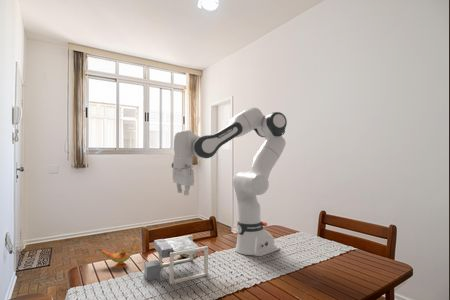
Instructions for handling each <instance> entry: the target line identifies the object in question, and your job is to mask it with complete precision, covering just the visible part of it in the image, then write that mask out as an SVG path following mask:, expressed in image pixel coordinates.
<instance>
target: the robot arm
mask: <svg viewBox="0 0 450 300" xmlns="http://www.w3.org/2000/svg"><path fill="white" fill-rule="evenodd" d="M287 124H288V121H287V117H286V116H285V114H284V113H282V112H280V111H275V112H271V113H269V114H267V115H265V114H263V113H262V111H261V109H259V108H258V107H250V108H247V109H245V110H243V111H241V112H239V113H237V114H235V115H234V116H233V117H232V118H230V119H229V120H228V121H227V126H226V127H224V128H222V129H221V130H219V131H217V132H215V133H214V134H209V135H201V136H199V135H197V134H195V133H193V132H192V130H190V129H184V130H180V131H178V132H175V135H174V138H173V151H174V156H173V162H171V168H172V180H173V183H174V184H176V188H177V193H179V194H182V193H183V195H184V196H189V195H190V193H189V192H190V188H191V186H192V187H193V186H194V185H195V184H194V183H195V175H194V174H195V173H194V172H195V171H194V169H193V157H197V158H202V159H210V158H212V157H214V156H215V155H216V154H217V152H218V150H219V149H220V148H221V147H222V146H223V145H225V144H227V143H228V142H229V141H232V140H233V139H235V138H239V137H242V136H245V135H247V134H249V133H250V132H252V131H254V132H255V133H256V135H257V136H259V137H261V138H264V141H263V143H262V144H261V145H260V147H259V149H258V150H257V152H256V153H255V155H254V156H252V164H251V167H250V169H249V170H248V171H244V170H243V171H239V172H237V173H235V174H234V175H233V177H232V181H231V183H232V186H233V188H234V192H235V196H236V197H235V198H236V201H237V218H238V219H237V220H238V221H237V226H236V227H237V237H236V238H237V239H236V245H235V248H234V250H235V252H237V253H239V254H241V255H245V256H256V257H262V256H265V255H268V254H270V253H273V252H276V251H279V250H280V246H279V245H278V244H276V243H275V238H274V236H273V235H272V234H271V233H270V232H269V231H267V230H266V229H265V228H264V227H266V228H267V227H268V223H267V222H265V221H261V205H260V202H259V201H258V198H257V196H261V195H264V194H265V193H266V192H267V191H268V189H269V188H270V187H269V185H270V184H269V182H270V181H269V176H270V174H271V171H272V169H273V168H274V167H275V165H276V164H277V162H278V160H279V158H280V157H281V155H282V153H283V151H284V148H285V147H286V140H285V137H283V135H284V134H285V133H286V128H287ZM182 186H184V190H183V189H182Z"/></svg>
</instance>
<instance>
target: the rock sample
mask: <svg viewBox="0 0 450 300" xmlns="http://www.w3.org/2000/svg"><path fill="white" fill-rule="evenodd" d="M179 256H180V257H181V258H185V259H187V258H189V253H187V254H182V255H179ZM195 258H197V252H193V259H195Z"/></svg>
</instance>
